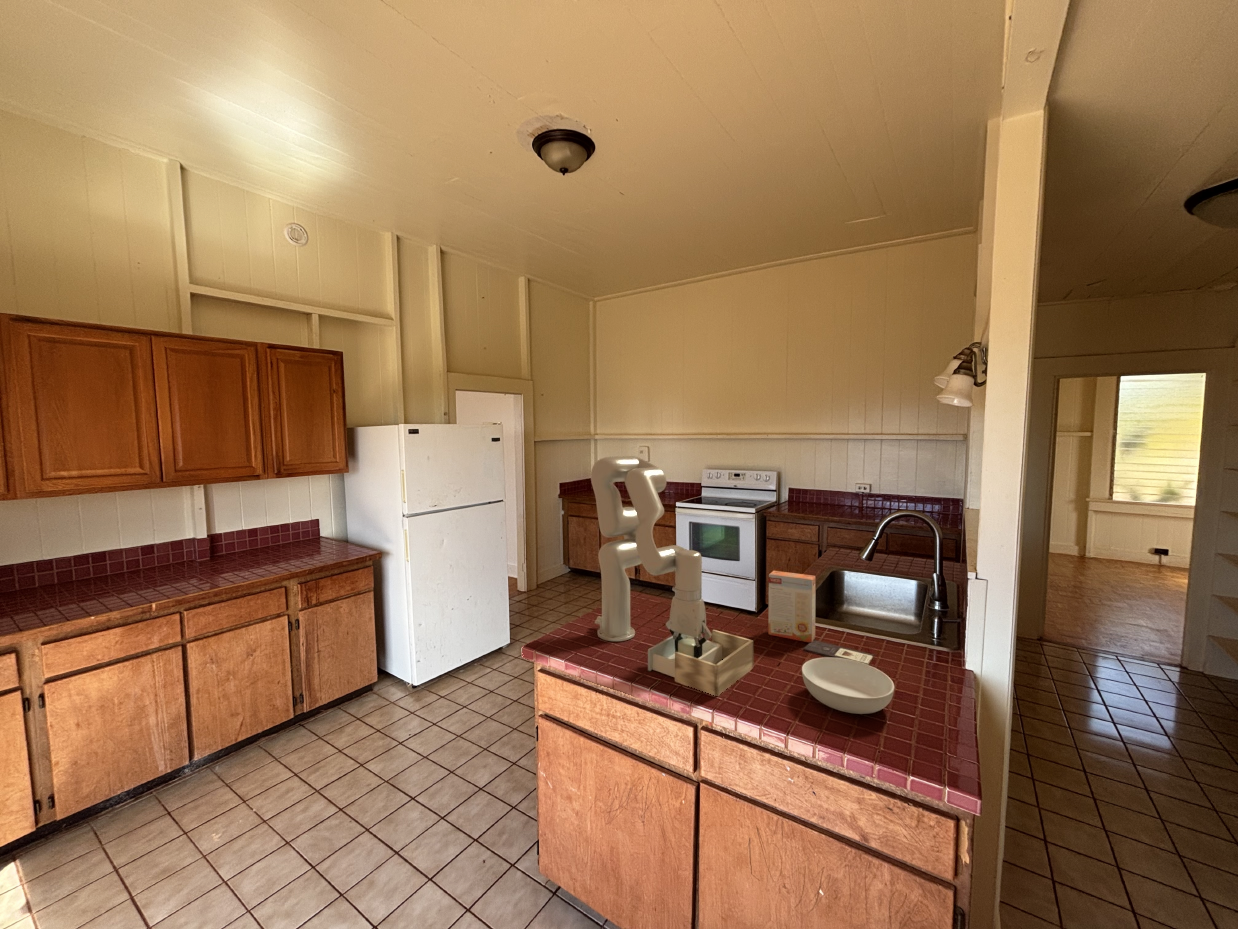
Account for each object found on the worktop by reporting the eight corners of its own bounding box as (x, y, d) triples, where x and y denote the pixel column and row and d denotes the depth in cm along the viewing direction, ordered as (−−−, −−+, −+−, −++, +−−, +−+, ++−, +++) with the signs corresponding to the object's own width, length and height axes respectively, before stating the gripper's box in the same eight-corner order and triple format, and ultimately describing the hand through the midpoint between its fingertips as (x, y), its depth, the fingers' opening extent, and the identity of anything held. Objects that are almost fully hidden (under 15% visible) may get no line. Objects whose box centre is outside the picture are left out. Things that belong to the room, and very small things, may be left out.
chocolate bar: (812, 639, 160) (873, 654, 149) (812, 642, 160) (873, 657, 149) (803, 648, 153) (866, 665, 142) (803, 651, 153) (866, 668, 142)
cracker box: (815, 637, 163) (816, 575, 162) (811, 644, 158) (812, 579, 157) (772, 629, 171) (773, 569, 170) (767, 635, 165) (768, 573, 164)
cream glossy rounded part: (673, 658, 143) (673, 643, 143) (685, 651, 148) (685, 636, 147) (691, 664, 139) (691, 648, 139) (702, 656, 144) (702, 642, 143)
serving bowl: (850, 735, 109) (850, 705, 109) (783, 691, 128) (784, 665, 128) (914, 714, 118) (914, 685, 117) (842, 675, 137) (843, 651, 136)
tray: (647, 670, 140) (647, 649, 139) (687, 646, 156) (687, 627, 155) (686, 684, 131) (686, 662, 131) (724, 657, 148) (724, 637, 147)
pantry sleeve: (674, 681, 134) (674, 652, 133) (713, 655, 150) (713, 629, 150) (717, 697, 126) (717, 666, 125) (753, 667, 142) (753, 640, 141)
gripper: (656, 591, 145) (656, 651, 146) (708, 603, 134) (707, 668, 135) (670, 585, 151) (670, 643, 152) (721, 596, 140) (721, 659, 141)
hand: (688, 654), depth 143 cm, fingers closed on cream glossy rounded part, 5 cm apart
